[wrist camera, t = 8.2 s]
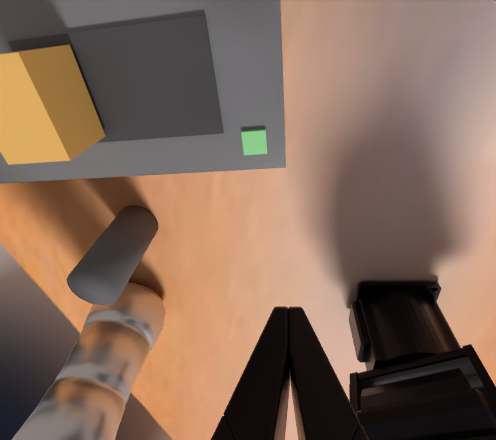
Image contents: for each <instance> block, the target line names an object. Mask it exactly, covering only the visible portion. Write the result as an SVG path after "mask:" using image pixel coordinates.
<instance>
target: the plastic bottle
mask: <svg viewBox="0 0 496 440" xmlns="http://www.w3.org/2000/svg"><path fill="white" fill-rule="evenodd" d="M165 314H166V311H165V307H164V304H163V301H162V299H161V298H160V296H159V295H158V294H157V293H156V292H154V291H153V290H151V289H150V288H148V287H146V286H143V285H140V284H136V283H127V284H126V286H125V288H124V290H123V291H122V293H121V295H120V297H119V298H118V300H117V301H116V302H115V303H113V304H110V305H96V304H93V305H92V307H91V309H90V312H89V314H88V316H87V319H86V322H85V324H84V327H83V330H82V332H81V334H80V336H79V338H78V340H77V342H76V344H75V346H74V348H73V350H72V352H71V354H70V356H69V358H68V360H67V362H66V364H65V366H64V367H63V369H62V370H61V372H60V373H59V375H58V376H57V378H56V380H55V383H54V384H53V385H52V386H51V387H50V388H49V390H48V391H47V393H46V394H45V396H44V397H43V399H42V400H41V402H40V403H39V405H38V406H37V408H36V409H35V410H34V412H33V413H32V414H31V415H30V417H29V418H28V419H27V421H26V422H25V423H24V425H23V426H22V427H21V429H20V430H19V431H18V432H17V434H16V435H15V436H14V437H13V439H12V440H115V437H116V433H117V430H118V427H119V424H120V421H121V418H122V415H123V412H124V409H125V403H126V402H127V400H128V398H129V394H130V392H131V389H132V386H133V384H134V382H135V380H136V378H137V376H138V374H139V372H140V370H141V368H142V365H143V363H144V361H145V359H146V357H147V355H148V353H149V351H150V350H151V348H152V347H153V345H154V344H155V342H156V341H157V339H158V337H159V335H160V333H161V331H162V329H163V325H164V320H165Z"/></svg>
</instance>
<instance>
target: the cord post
mask: <svg viewBox="0 0 496 440" xmlns="http://www.w3.org/2000/svg"><path fill="white" fill-rule="evenodd" d="M157 230H158V222H157V220H156V218H155V216H154V215H153V214H152V213H151V212H150V211H148V210H147V209H145V208H142V207H139V206H127V207H125V208H124V209H122V210H121V212H120V213H119V214H118V215H117V217H116V218H115V219H114V220H113V222H112V223H111V224H110V225H109V226H108V228H107V229H106V230H105V231H104V233H103V234H102V235H101V236H100V237H99V239H98V240H97V241H96V242H95V244H94V245H93V246H92V247H91V248H90V250H89V251H88V252H87V253H86V255H85V256H84V257H83V258H82V259H81V261H80V262H79V263H78V264H77V266H76V267H75V268H74V269H73V271H72V272H71V273H70V274H69V275H68V278H67V283H68V286H69V288H70V289H71V291H72V292H73V293H74V294H75V295H77V296H78V297H79V298H81V299H83V300H85V301H87V302H89V303H92V304H96V305H110V304H113V303H115V302H116V301H117V300H118V298H119V297H120V295H121V293H122V291H123V290H124V288H125V286H126V284H127V283H128V281H129V279H130V277H131V276H132V274H133V272H134V271H135V269H136V267H137V265H138V264H139V262H140V260H141V258H142V257H143V255H144V253H145V251H146V250H147V248H148V246H149V244H150V243H151V241H152V239H153V237H154V236H155V234H156V232H157Z"/></svg>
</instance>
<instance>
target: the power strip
mask: <svg viewBox="0 0 496 440" xmlns="http://www.w3.org/2000/svg"><path fill="white" fill-rule="evenodd" d="M62 45H70V47H71V49H72V52H73V54H74V57H75V59H76V62H77V65H78V67H79V70H80V72H81V75H82V77H83V80H84V82H85V85H86V88H87V90H88V93H89V95H90V98H91V100H92V103H93V105H94V108H95V111H96V113H97V116H98V118H99V121H100V123H101V126H102V128H103V131H104V133H105V137H104V138H102V139H101V140H99V141H98V142H97V143H95V144H94V145H92V146H91V147H89V148H88V149H87V150H85V151H84V152H82V153H81V154H79V155H78V156H76V157H75V158H74V159H72V160H71V161H58V162H43V163H27V164H12V165H8V163H7V162H6V160H5V159H4V157H3V155H2V154H1V152H0V183H16V182H34V181H52V180H70V179H88V178H106V177H124V176H142V175H160V174H178V173H195V172H213V171H231V170H249V169H267V168H285V167H286V157H285V121H284V92H283V63H282V33H281V4H280V0H0V53H7V52H15V51H23V50H31V49H39V48H47V47H54V46H62Z"/></svg>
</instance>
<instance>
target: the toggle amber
mask: <svg viewBox="0 0 496 440" xmlns="http://www.w3.org/2000/svg"><path fill="white" fill-rule="evenodd" d="M104 137H105V133H104V131H103V128H102V126H101V123H100V121H99V118H98V116H97V113H96V111H95V108H94V105H93V103H92V100H91V98H90V95H89V93H88V90H87V88H86V85H85V82H84V80H83V77H82V75H81V72H80V70H79V67H78V65H77V62H76V59H75V57H74V54H73V52H72V49H71V47H70V45H62V46H54V47H47V48H39V49H31V50H23V51H15V52H7V53H0V152H1V154H2V155H3V157H4V159H5V160H6V162H7V163H8V165H12V164H27V163H43V162H58V161H71V160H72V159H74V158H75V157H76V156H78V155H79V154H81V153H82V152H84V151H85V150H87V149H88V148H89V147H91V146H92V145H94V144H95V143H97V142H98V141H99V140H101V139H102V138H104Z"/></svg>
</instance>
